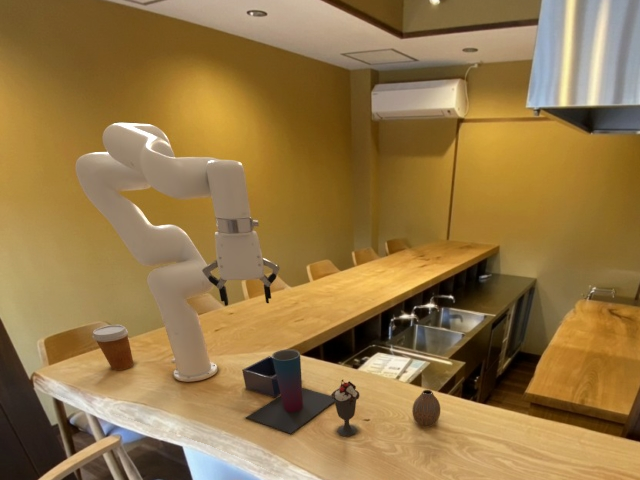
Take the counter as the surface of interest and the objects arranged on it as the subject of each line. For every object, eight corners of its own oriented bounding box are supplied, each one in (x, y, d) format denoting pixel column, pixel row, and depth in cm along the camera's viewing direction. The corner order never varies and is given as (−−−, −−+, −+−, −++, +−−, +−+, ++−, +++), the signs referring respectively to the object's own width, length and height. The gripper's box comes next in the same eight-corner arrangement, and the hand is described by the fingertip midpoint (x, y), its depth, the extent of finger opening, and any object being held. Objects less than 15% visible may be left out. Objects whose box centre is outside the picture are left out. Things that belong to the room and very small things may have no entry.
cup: (300, 415, 108) (293, 361, 100) (276, 412, 109) (267, 359, 101) (310, 402, 114) (304, 350, 105) (286, 399, 115) (278, 348, 107)
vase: (442, 418, 108) (444, 387, 103) (435, 432, 102) (438, 400, 97) (416, 413, 109) (417, 383, 105) (408, 427, 104) (409, 396, 99)
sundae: (340, 441, 99) (335, 385, 90) (329, 428, 104) (324, 372, 95) (365, 434, 101) (363, 378, 93) (354, 421, 106) (351, 367, 98)
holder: (245, 388, 121) (241, 369, 118) (272, 374, 129) (269, 356, 126) (274, 397, 117) (271, 378, 113) (300, 382, 125) (297, 363, 121)
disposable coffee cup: (120, 374, 129) (106, 337, 123) (98, 369, 132) (83, 332, 126) (146, 362, 137) (133, 326, 130) (124, 358, 140) (111, 322, 133)
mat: (245, 418, 108) (245, 417, 107) (296, 387, 122) (296, 385, 122) (291, 434, 101) (290, 433, 101) (338, 399, 116) (338, 398, 116)
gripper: (273, 222, 98) (282, 296, 108) (194, 224, 94) (211, 300, 104) (275, 228, 92) (284, 305, 102) (191, 229, 88) (208, 310, 98)
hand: (247, 302), depth 103 cm, fingers open, 9 cm apart
